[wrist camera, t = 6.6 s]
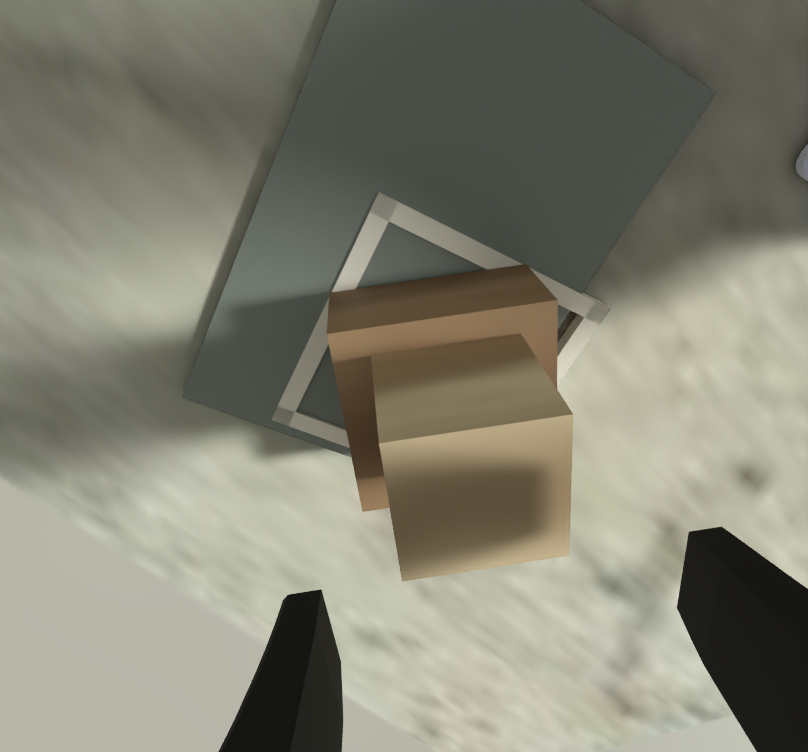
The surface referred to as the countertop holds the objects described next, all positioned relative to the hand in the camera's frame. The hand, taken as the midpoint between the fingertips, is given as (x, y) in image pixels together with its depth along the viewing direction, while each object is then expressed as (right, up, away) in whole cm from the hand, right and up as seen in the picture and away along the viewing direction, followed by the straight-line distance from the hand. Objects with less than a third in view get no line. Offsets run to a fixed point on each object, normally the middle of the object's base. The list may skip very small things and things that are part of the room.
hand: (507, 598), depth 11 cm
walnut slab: (-1, +4, +8) cm, 9 cm away
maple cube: (-1, +3, +5) cm, 6 cm away
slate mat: (-1, +8, +7) cm, 11 cm away
